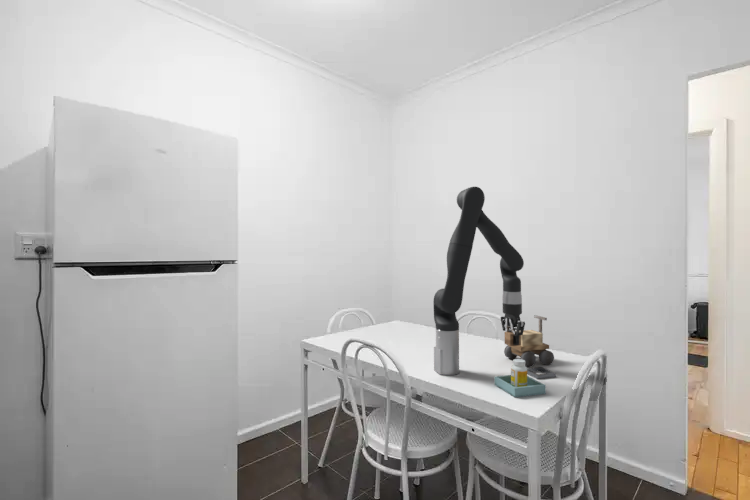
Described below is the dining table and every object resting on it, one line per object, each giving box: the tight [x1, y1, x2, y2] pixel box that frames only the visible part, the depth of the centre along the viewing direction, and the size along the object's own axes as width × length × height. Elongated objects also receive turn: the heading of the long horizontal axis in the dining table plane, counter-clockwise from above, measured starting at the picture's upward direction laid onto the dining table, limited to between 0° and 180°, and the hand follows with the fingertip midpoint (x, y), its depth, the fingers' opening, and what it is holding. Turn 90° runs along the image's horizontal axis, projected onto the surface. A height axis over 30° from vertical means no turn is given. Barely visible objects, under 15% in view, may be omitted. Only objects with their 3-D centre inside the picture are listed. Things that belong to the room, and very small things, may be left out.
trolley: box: [503, 314, 555, 368], centre depth 164 cm, size 15×14×19 cm
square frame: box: [527, 366, 557, 380], centre depth 147 cm, size 8×8×2 cm
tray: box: [494, 374, 547, 398], centre depth 132 cm, size 12×12×3 cm
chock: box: [504, 330, 521, 346], centre depth 156 cm, size 5×4×5 cm
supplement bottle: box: [510, 358, 528, 387], centre depth 132 cm, size 5×5×10 cm
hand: (512, 343), depth 156 cm, fingers closed on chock, 4 cm apart
